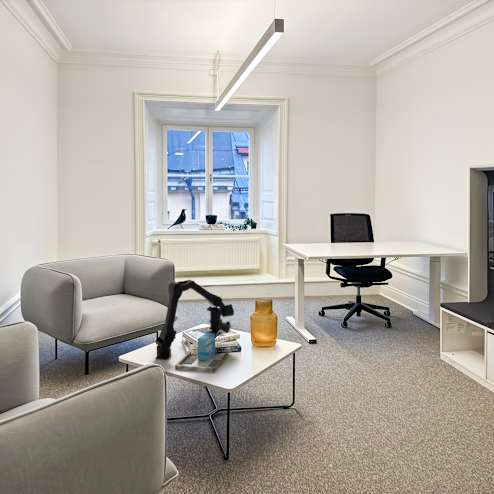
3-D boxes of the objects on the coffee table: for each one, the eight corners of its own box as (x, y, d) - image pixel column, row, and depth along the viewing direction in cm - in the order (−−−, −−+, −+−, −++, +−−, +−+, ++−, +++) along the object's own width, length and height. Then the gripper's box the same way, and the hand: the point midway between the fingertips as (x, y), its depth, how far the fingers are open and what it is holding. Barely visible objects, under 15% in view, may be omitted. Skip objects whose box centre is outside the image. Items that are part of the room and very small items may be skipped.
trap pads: (183, 363, 237) (183, 362, 236) (189, 357, 245) (189, 356, 245) (216, 366, 233) (216, 365, 233) (221, 360, 241) (221, 359, 241)
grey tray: (175, 369, 229) (175, 365, 229) (192, 351, 254) (192, 348, 254) (214, 372, 225) (214, 368, 224) (228, 354, 250) (228, 351, 250)
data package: (205, 362, 239) (205, 339, 238) (197, 361, 241) (197, 338, 239) (215, 354, 250) (215, 332, 249) (207, 353, 252) (207, 332, 250)
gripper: (225, 323, 248) (224, 352, 250) (233, 314, 267) (233, 341, 268) (204, 322, 251) (204, 350, 253) (214, 313, 269) (214, 340, 271)
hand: (215, 345), depth 261 cm, fingers closed
